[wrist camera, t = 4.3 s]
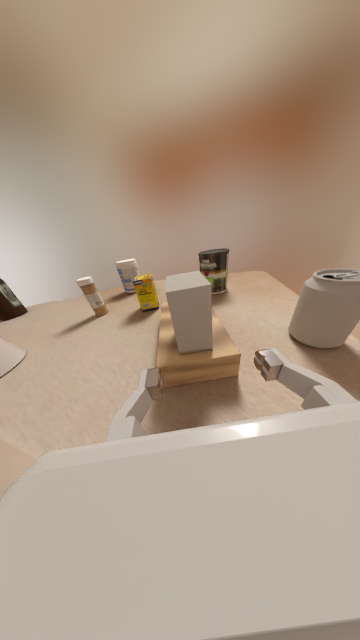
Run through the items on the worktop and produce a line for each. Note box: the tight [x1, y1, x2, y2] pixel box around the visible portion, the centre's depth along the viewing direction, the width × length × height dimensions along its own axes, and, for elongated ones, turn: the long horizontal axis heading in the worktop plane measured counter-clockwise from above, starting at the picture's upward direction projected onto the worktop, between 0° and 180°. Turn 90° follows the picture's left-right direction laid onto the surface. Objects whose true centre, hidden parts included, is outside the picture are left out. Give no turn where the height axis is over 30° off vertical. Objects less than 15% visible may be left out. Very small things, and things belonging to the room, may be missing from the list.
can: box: [288, 269, 360, 348], centre depth 22 cm, size 8×8×12 cm
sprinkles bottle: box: [76, 277, 108, 316], centre depth 46 cm, size 5×5×14 cm
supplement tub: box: [116, 259, 140, 293], centre depth 65 cm, size 10×10×15 cm
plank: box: [156, 302, 241, 388], centre depth 29 cm, size 22×12×5 cm, turn 5°
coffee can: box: [199, 249, 229, 295], centre depth 49 cm, size 10×10×14 cm
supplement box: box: [132, 274, 159, 312], centre depth 45 cm, size 6×6×11 cm
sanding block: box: [166, 271, 213, 355], centre depth 20 cm, size 7×5×10 cm
